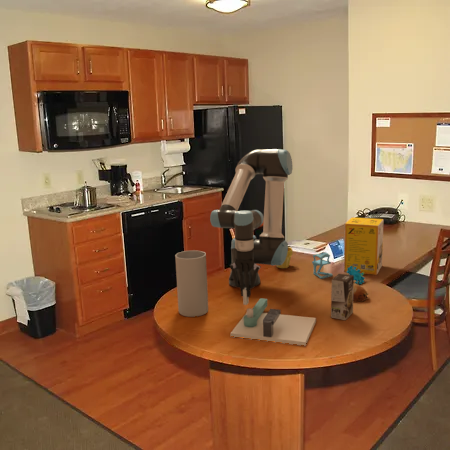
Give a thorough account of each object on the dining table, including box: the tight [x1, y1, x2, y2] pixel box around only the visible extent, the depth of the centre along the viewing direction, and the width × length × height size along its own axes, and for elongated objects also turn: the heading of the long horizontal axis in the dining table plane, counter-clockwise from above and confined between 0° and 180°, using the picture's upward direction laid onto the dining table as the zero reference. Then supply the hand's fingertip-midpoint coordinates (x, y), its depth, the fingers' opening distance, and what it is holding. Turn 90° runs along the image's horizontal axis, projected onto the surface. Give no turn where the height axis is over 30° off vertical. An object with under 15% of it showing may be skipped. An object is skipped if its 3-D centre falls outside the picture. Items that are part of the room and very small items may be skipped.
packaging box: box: [343, 216, 384, 276], centre depth 261 cm, size 16×16×25 cm
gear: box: [346, 266, 366, 286], centre depth 243 cm, size 11×6×10 cm
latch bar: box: [243, 298, 268, 327], centre depth 203 cm, size 22×5×6 cm, turn 160°
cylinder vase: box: [174, 250, 209, 318], centre depth 212 cm, size 12×12×25 cm
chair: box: [311, 252, 333, 280], centre depth 254 cm, size 8×8×12 cm
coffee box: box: [330, 273, 355, 321], centre depth 204 cm, size 9×6×16 cm
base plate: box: [230, 312, 317, 347], centre depth 195 cm, size 28×22×2 cm
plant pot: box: [275, 246, 293, 269], centre depth 270 cm, size 10×10×10 cm
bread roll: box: [353, 283, 369, 303], centre depth 223 cm, size 10×10×8 cm
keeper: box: [263, 308, 282, 337], centre depth 190 cm, size 4×12×6 cm, turn 161°
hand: (245, 303), depth 212 cm, fingers closed
